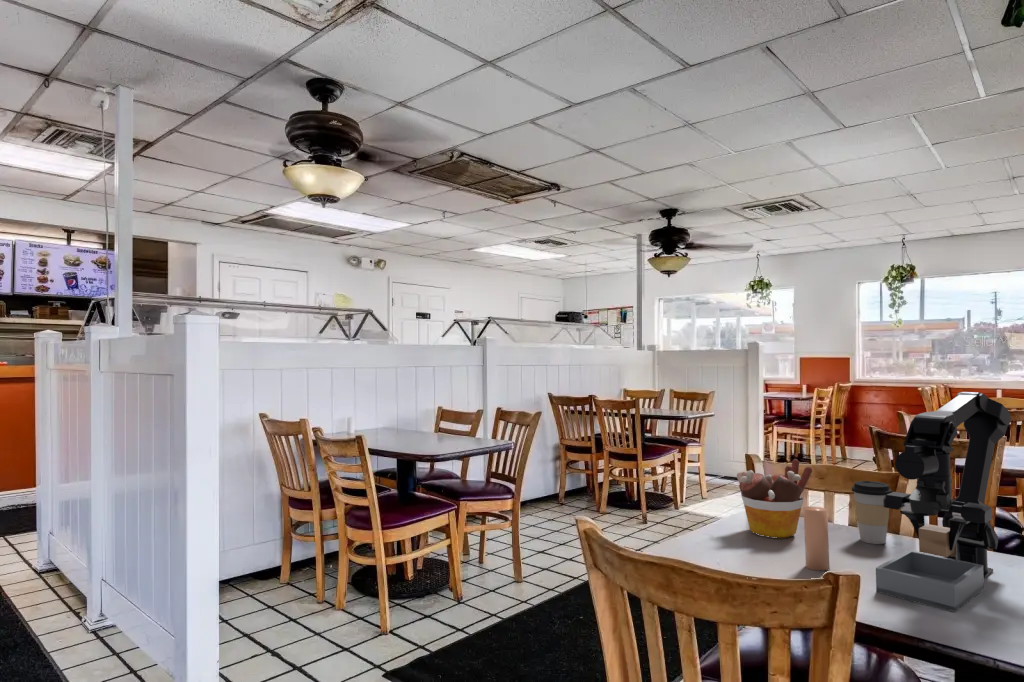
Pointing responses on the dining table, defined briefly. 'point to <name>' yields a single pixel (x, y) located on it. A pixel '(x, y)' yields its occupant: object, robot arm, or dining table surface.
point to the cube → (934, 540)
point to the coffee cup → (871, 510)
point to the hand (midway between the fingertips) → (936, 547)
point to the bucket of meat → (773, 500)
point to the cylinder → (816, 538)
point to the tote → (930, 580)
